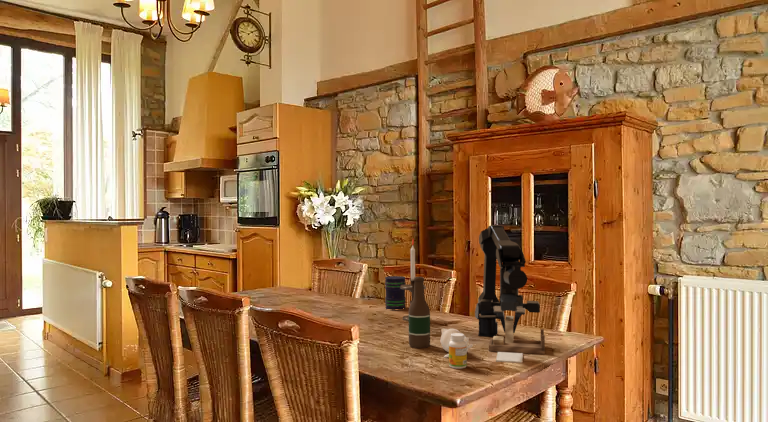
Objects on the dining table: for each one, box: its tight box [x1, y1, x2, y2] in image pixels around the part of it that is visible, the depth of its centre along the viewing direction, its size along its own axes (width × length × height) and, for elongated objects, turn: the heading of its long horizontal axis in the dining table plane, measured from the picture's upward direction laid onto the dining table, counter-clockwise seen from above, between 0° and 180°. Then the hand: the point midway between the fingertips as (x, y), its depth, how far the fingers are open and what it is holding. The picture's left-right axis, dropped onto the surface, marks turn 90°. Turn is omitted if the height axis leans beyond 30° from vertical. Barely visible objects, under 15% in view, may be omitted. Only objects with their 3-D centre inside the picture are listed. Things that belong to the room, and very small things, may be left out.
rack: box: [488, 328, 546, 355], centre depth 187 cm, size 18×10×6 cm, turn 76°
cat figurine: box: [439, 328, 474, 358], centre depth 181 cm, size 9×11×12 cm
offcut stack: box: [492, 335, 505, 345], centre depth 188 cm, size 4×7×2 cm, turn 166°
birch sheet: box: [504, 315, 515, 343], centre depth 176 cm, size 2×8×7 cm, turn 166°
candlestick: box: [400, 237, 427, 322], centre depth 237 cm, size 11×11×35 cm
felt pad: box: [495, 352, 524, 364], centre depth 176 cm, size 8×10×1 cm
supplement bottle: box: [448, 332, 468, 370], centre depth 167 cm, size 5×5×10 cm
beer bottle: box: [408, 276, 431, 349], centre depth 192 cm, size 8×8×24 cm
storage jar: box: [384, 275, 407, 310], centre depth 263 cm, size 10×10×15 cm
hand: (509, 332), depth 176 cm, fingers closed on birch sheet, 2 cm apart
